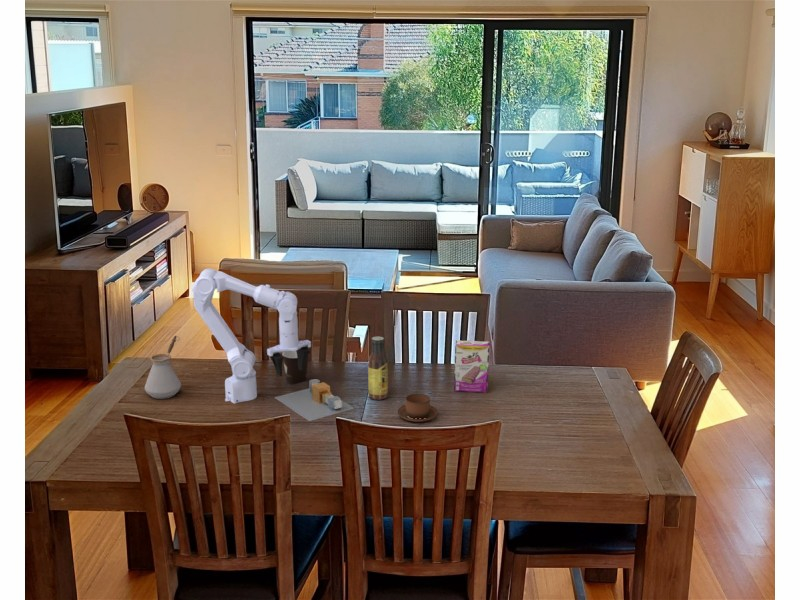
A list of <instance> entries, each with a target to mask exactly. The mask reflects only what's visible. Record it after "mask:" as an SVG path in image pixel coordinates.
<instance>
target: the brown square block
mask: <svg viewBox="0 0 800 600" xmlns="http://www.w3.org/2000/svg"><path fill="white" fill-rule="evenodd" d="M312 386H313V400H314V401H316V402H317V403H319V404H321V403H323V398H322V394H325V393H328V392H331V386H330V385H329V384H328V383H326V382H320V383H318V384H315V385H312Z"/></svg>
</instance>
